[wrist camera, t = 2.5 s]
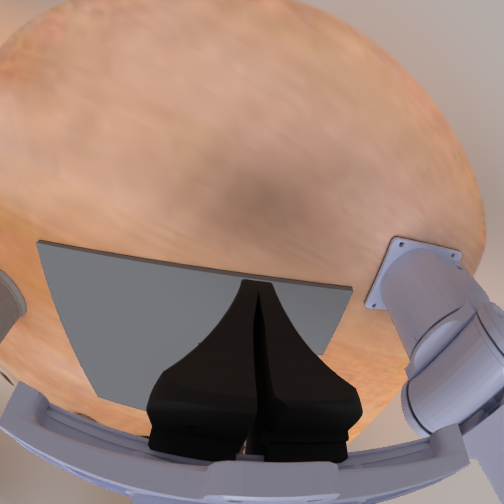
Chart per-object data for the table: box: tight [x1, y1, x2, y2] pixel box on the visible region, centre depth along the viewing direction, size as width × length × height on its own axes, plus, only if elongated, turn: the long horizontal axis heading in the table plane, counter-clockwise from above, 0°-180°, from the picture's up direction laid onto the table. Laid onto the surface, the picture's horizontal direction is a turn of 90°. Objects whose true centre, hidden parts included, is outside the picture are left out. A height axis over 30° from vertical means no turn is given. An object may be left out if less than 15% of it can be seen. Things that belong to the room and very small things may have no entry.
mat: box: [36, 240, 353, 411], centre depth 32 cm, size 33×32×1 cm
